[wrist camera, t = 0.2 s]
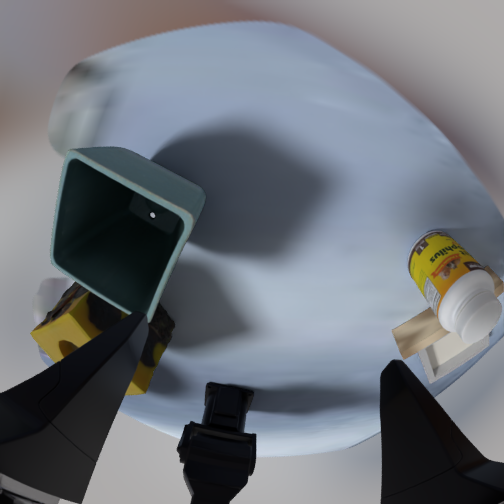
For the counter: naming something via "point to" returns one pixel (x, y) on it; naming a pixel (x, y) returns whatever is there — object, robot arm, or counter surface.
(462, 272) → the supplement bottle
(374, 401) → the counter surface
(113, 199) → the flower pot
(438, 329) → the oak sill
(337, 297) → the counter surface
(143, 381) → the yellow and black cube
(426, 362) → the square tray
